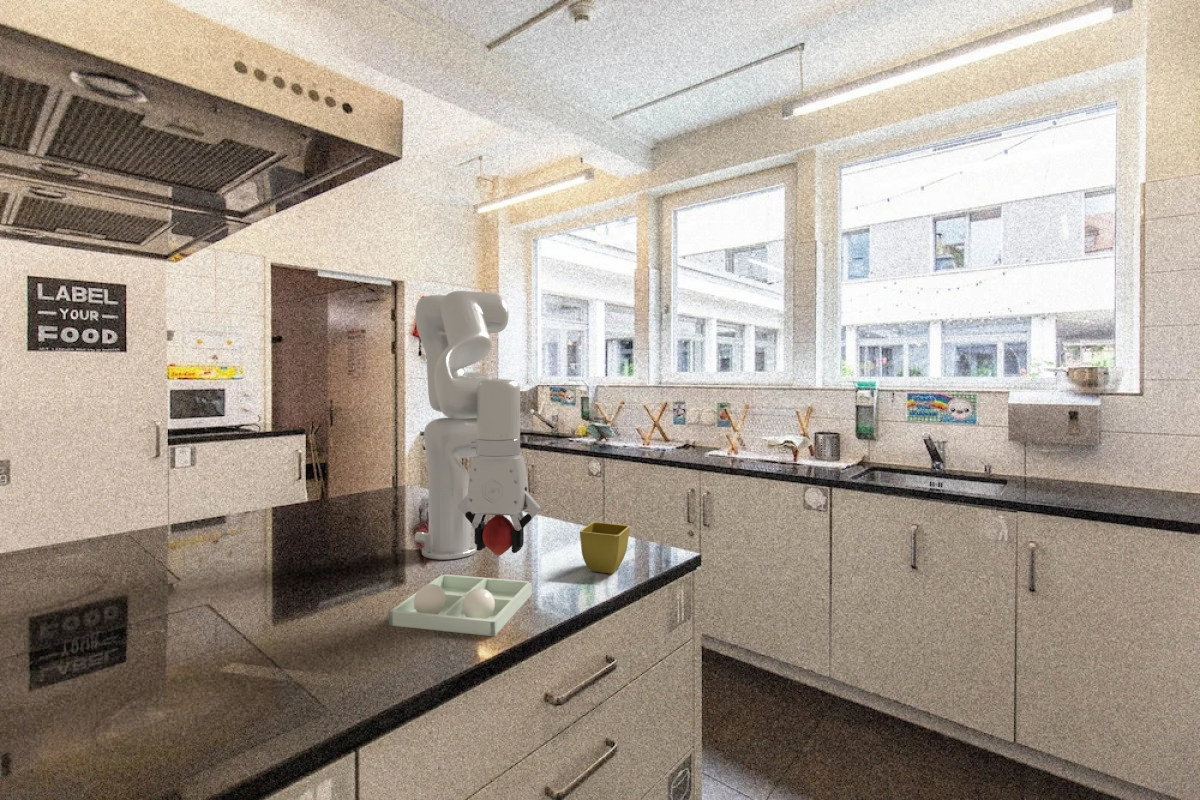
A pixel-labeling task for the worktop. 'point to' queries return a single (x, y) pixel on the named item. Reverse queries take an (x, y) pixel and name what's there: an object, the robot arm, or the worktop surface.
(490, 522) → the onion
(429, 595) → the egg near left
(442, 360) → the robot arm
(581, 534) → the flower pot
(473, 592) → the egg near right
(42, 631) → the worktop surface
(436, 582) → the egg tray
